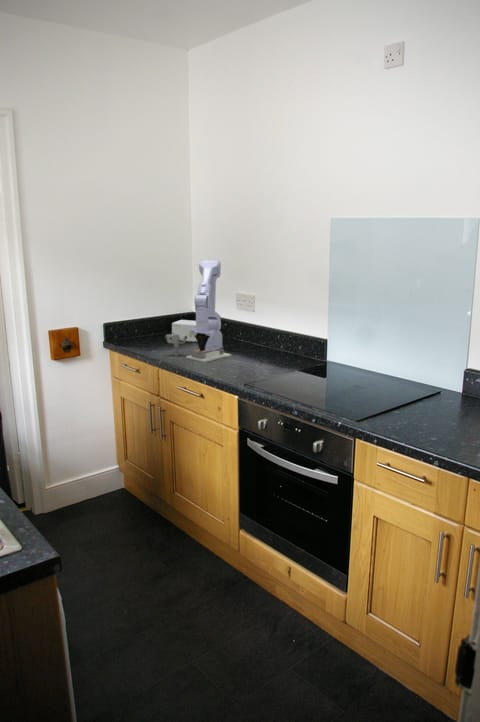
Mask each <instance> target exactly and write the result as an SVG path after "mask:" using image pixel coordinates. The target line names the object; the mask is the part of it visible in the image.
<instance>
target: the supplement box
mask: <svg viewBox="0 0 480 722" xmlns="http://www.w3.org/2000/svg"><path fill="white" fill-rule="evenodd" d="M191 328H195V329H196V320H190V319H189V320H188V319H180V320H177V321H174V322H172V323H171V334H178V335H179V336H180V338H183V337H184V335H186V336H187V339H186V341H185V342H195V341H196V342H197V340H196V338H195V335H197V333H190V329H191ZM172 339H173V338H172V337H171V340H172ZM182 342H184V340H182ZM197 343H198V342H197Z"/></svg>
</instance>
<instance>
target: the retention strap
mask: <svg viewBox="0 0 480 722" xmlns="http://www.w3.org/2000/svg"><path fill="white" fill-rule="evenodd" d="M222 347H223V346H222ZM222 347H219V346H213V347H208V348H205V350H200V349H199V348H198V349H193V350H194V352H195V353H200V352H208V351H212V350H217V349H223V348H222Z"/></svg>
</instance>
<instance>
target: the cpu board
mask: <svg viewBox="0 0 480 722" xmlns="http://www.w3.org/2000/svg"><path fill="white" fill-rule="evenodd" d="M194 350H195V349H193V350H191V351H190V352H191V353H190V355H187V356H186V359H189V360H193V361H198V362H202V363H207V362H211V361H215V360H220V359H225V358H230V357H232V354H230V353H226V352H225V350H224V348H222V349H217V350H212V351H208V352H200V353H195V352H194Z"/></svg>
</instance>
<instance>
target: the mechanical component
mask: <svg viewBox="0 0 480 722" xmlns="http://www.w3.org/2000/svg"><path fill="white" fill-rule="evenodd" d="M164 335H165V336H164V339H166V342H167V344H173V347H174V356H175V357H178V356H179V347H180V344H185V343H186V342H187V341H186V339H187V336H186V335H184V337H183V338H180V336H179V335H178V334H172V333H171V334H170V333H169V334H168V333H167V334H164ZM172 338H173V339H172ZM183 340H184V341H183Z"/></svg>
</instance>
